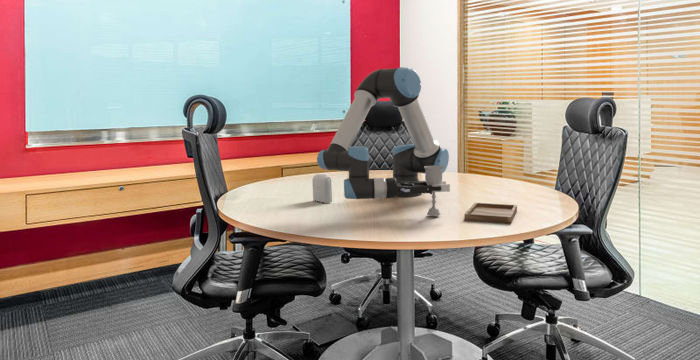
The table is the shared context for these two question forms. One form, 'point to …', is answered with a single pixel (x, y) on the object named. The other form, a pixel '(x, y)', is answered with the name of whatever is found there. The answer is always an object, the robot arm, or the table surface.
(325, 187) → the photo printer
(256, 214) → the table surface
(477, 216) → the tray
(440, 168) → the chalice
